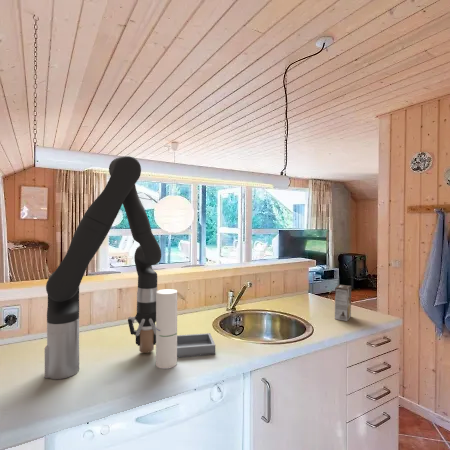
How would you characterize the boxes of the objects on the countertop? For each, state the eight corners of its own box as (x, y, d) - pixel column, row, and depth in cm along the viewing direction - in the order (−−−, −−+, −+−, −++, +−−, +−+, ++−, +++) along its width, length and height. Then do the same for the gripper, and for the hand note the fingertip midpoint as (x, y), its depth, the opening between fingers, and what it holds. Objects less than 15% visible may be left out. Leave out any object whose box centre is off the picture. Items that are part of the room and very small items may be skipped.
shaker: (138, 353, 113) (139, 328, 112) (139, 347, 118) (140, 323, 118) (153, 352, 114) (154, 327, 114) (153, 346, 119) (154, 322, 119)
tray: (174, 357, 112) (174, 348, 112) (172, 344, 124) (172, 335, 123) (215, 354, 115) (215, 345, 115) (210, 341, 127) (210, 333, 127)
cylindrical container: (167, 356, 112) (168, 288, 112) (181, 362, 108) (181, 291, 107) (151, 364, 107) (151, 291, 106) (165, 370, 102) (165, 295, 102)
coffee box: (338, 314, 165) (338, 284, 164) (351, 316, 161) (351, 285, 161) (334, 319, 157) (334, 287, 156) (347, 321, 153) (348, 289, 153)
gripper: (126, 302, 110) (125, 350, 110) (167, 301, 113) (166, 347, 114) (128, 297, 117) (127, 341, 118) (166, 295, 121) (166, 339, 121)
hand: (146, 344), depth 116 cm, fingers closed on shaker, 5 cm apart
